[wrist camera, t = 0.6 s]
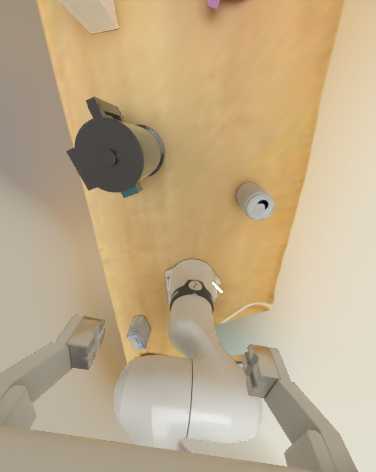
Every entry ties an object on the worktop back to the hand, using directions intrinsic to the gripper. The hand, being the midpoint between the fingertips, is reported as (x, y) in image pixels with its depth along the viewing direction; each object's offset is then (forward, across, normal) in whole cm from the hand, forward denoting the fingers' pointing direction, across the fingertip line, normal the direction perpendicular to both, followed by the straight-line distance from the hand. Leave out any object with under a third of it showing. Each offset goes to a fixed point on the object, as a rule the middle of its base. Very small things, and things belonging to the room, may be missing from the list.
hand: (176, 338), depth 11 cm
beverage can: (+45, +15, 0) cm, 47 cm away
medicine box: (+45, -9, -57) cm, 73 cm away
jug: (+45, -16, +6) cm, 48 cm away
